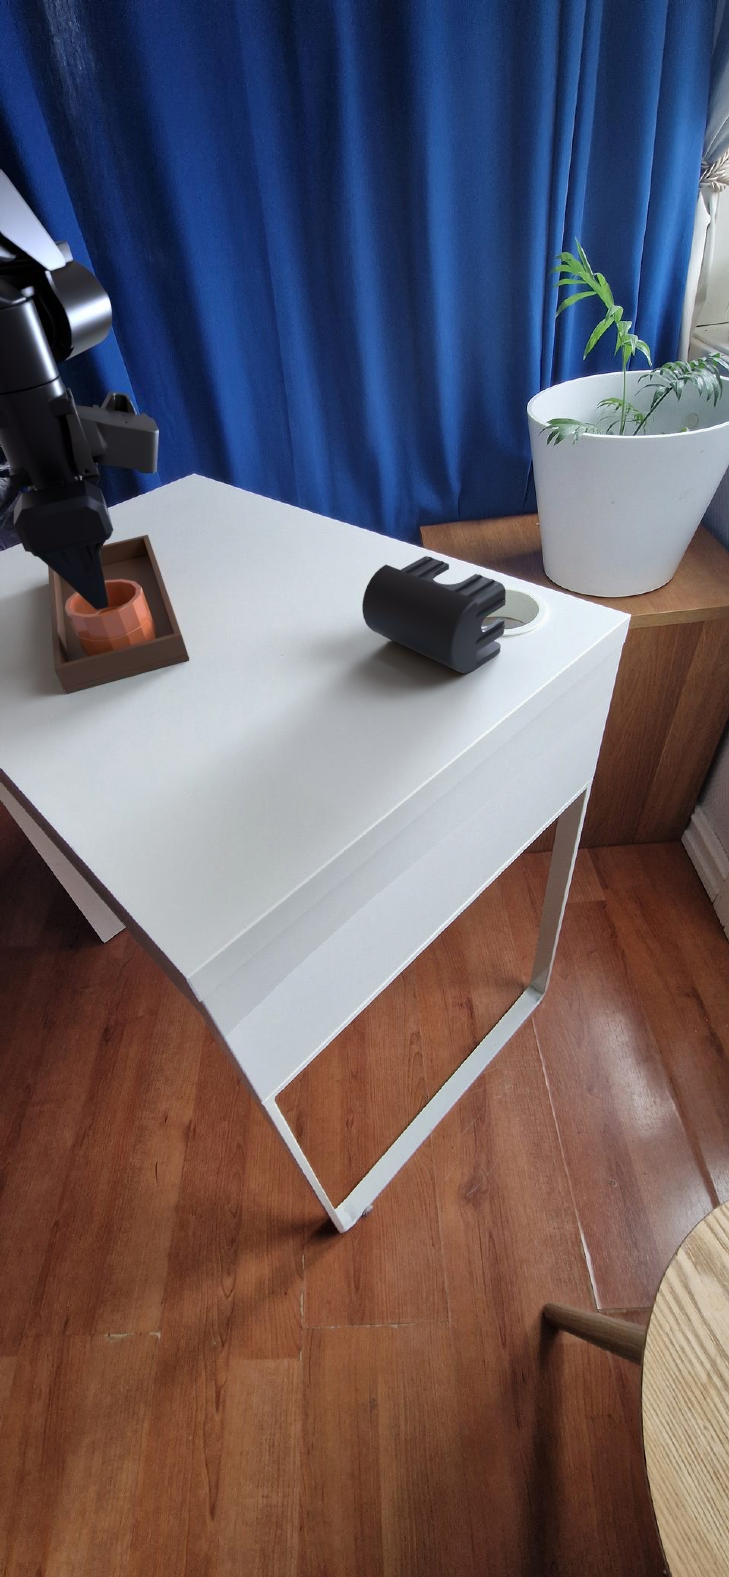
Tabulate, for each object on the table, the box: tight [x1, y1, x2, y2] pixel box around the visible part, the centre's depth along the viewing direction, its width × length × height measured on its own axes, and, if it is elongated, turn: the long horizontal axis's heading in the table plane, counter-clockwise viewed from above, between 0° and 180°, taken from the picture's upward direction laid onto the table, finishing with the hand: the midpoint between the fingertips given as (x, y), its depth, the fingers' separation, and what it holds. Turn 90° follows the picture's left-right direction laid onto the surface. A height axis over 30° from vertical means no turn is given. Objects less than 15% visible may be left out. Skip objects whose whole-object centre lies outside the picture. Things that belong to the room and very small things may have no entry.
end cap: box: [361, 555, 507, 675], centre depth 58 cm, size 10×7×7 cm
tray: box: [47, 534, 190, 694], centre depth 70 cm, size 24×11×3 cm, turn 20°
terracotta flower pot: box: [65, 579, 156, 657], centre depth 63 cm, size 7×7×5 cm
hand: (98, 584), depth 61 cm, fingers open, 9 cm apart
